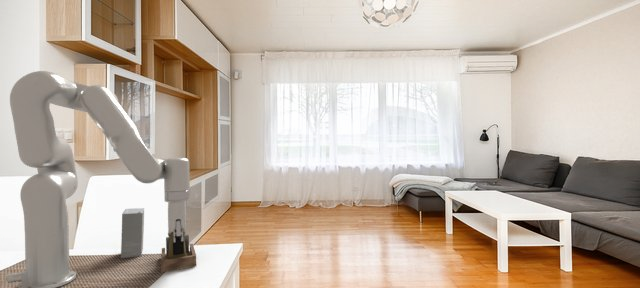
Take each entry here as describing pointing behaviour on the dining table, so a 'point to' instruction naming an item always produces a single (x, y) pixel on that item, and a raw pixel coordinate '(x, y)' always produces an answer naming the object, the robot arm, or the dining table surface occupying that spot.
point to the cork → (170, 252)
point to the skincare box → (132, 232)
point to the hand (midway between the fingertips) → (178, 251)
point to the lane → (178, 260)
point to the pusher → (186, 240)
